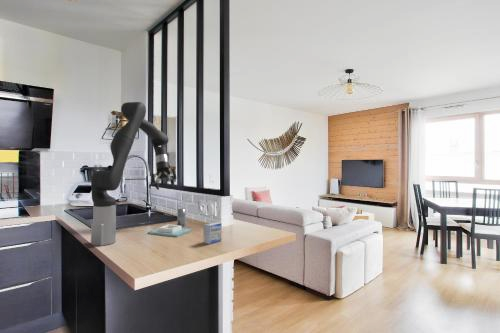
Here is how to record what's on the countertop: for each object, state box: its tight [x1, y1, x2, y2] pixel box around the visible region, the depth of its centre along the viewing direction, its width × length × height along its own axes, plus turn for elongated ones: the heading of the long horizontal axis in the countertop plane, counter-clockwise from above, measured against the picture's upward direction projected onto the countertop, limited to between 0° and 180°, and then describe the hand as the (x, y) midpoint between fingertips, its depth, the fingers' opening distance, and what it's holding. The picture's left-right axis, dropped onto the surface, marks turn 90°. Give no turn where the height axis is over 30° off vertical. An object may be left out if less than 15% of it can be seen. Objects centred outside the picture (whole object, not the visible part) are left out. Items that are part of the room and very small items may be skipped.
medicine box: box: [202, 221, 222, 245], centre depth 132 cm, size 8×4×9 cm, turn 143°
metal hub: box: [176, 208, 186, 228], centre depth 165 cm, size 4×4×10 cm
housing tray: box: [147, 224, 193, 238], centre depth 149 cm, size 14×18×3 cm
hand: (165, 187), depth 165 cm, fingers open, 8 cm apart
